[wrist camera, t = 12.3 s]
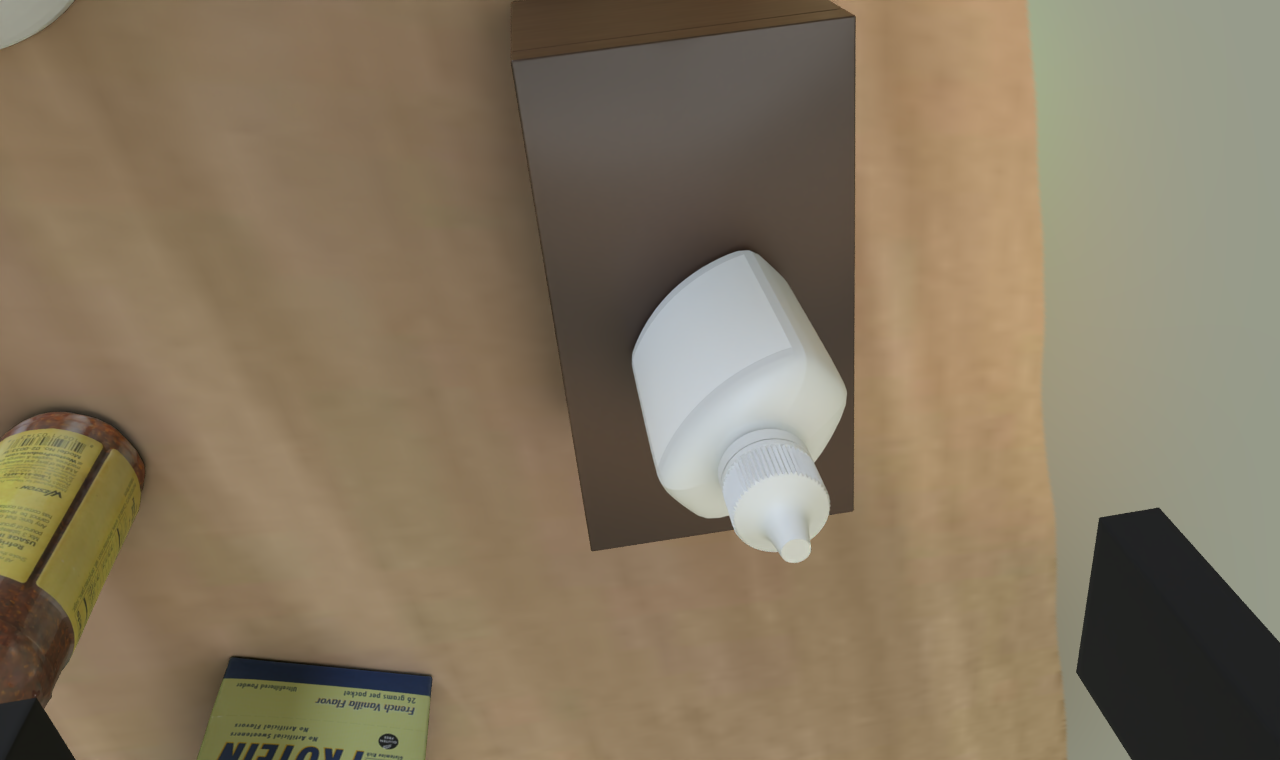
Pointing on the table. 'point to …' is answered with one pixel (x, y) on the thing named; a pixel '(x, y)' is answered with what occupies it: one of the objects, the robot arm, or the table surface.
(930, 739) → the table surface
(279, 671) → the protein box
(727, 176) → the dark brown wooden stand
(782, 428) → the eye dropper bottle
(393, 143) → the table surface
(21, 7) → the candlestick
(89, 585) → the sauce bottle
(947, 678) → the table surface
